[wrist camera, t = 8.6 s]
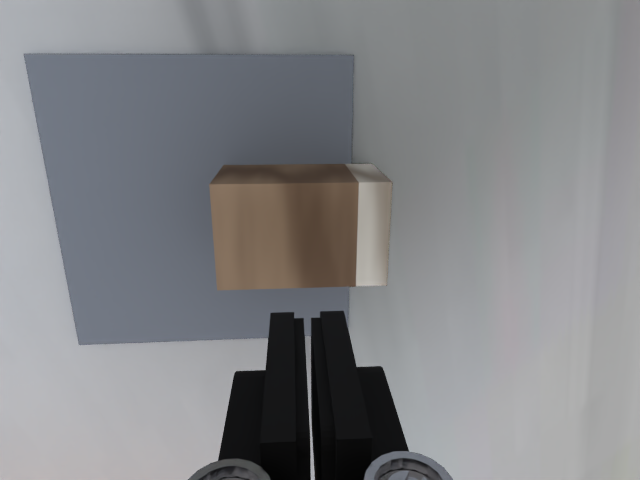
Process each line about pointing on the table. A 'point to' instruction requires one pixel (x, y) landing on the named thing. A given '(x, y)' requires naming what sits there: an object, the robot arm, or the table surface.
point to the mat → (176, 180)
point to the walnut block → (300, 226)
